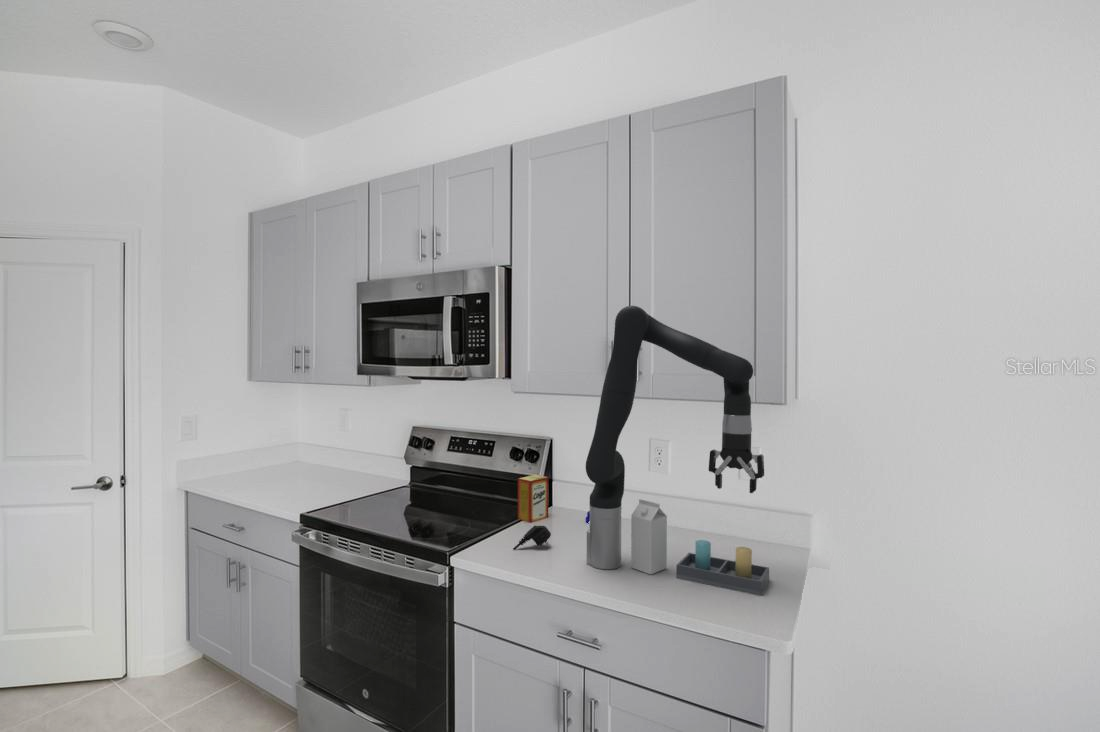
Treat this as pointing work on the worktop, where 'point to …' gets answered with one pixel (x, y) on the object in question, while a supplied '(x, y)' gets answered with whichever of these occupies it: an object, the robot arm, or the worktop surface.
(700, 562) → the teal rounded cylinder
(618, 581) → the worktop surface
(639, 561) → the milk carton
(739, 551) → the tan rounded cylinder
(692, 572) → the grey divided tray
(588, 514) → the cable holder
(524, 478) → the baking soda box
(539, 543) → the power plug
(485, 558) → the worktop surface
